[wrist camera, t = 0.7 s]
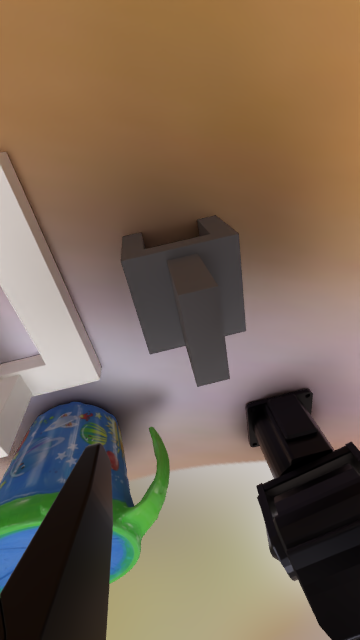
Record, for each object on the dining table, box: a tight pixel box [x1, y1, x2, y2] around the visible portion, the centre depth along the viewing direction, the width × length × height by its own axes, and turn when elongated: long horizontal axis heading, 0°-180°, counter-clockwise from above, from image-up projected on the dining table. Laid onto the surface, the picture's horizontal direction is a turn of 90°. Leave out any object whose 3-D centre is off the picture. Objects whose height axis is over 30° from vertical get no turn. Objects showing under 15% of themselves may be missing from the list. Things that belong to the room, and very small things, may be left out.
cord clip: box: [121, 215, 246, 387], centre depth 16 cm, size 6×6×8 cm
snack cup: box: [0, 402, 170, 593], centre depth 22 cm, size 16×10×10 cm
